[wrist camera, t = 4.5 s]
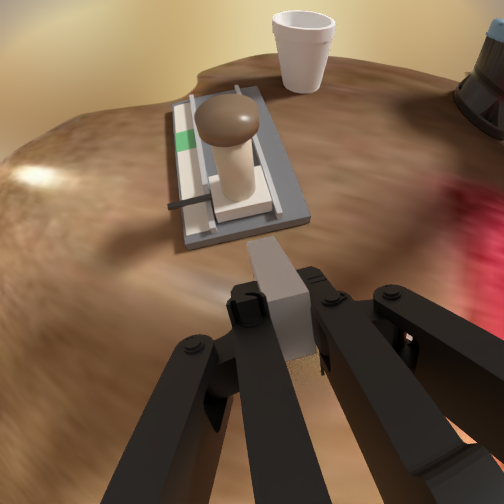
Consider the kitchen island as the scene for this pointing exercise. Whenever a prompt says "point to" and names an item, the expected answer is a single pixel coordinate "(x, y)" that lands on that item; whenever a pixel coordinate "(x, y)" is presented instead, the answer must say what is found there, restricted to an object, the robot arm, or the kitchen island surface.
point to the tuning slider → (231, 158)
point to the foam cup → (302, 47)
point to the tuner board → (203, 166)
